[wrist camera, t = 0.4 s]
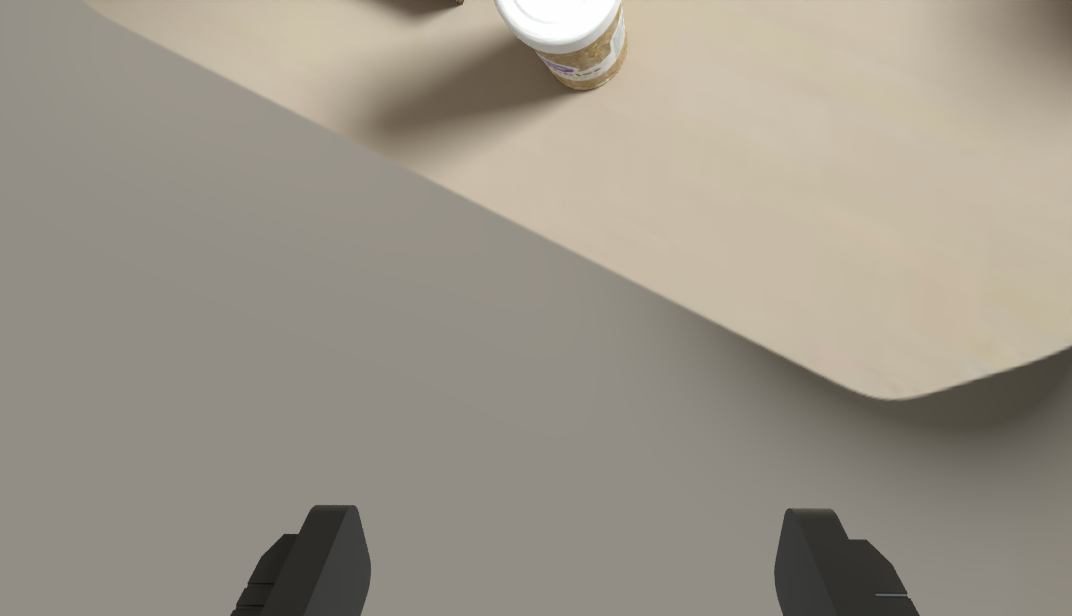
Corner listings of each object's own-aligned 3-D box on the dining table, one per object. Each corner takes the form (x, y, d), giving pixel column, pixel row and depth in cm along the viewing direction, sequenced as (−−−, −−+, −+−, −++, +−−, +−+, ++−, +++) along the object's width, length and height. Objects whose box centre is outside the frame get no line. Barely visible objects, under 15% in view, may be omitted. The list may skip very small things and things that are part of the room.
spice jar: (540, 86, 35) (480, 37, 22) (550, -2, 34) (494, -108, 21) (622, 95, 34) (610, 51, 21) (635, 6, 33) (631, -99, 20)
